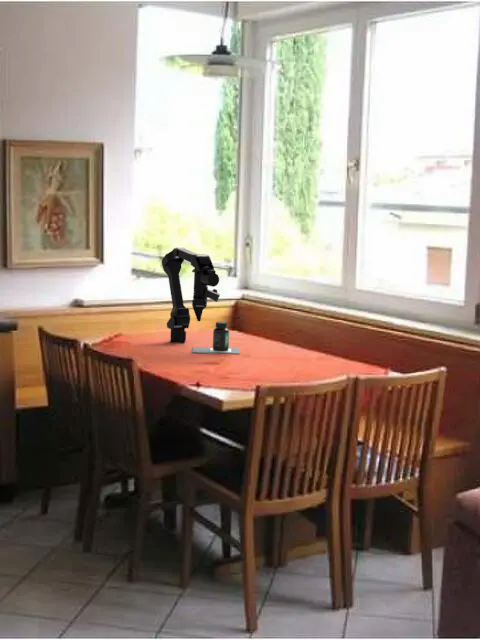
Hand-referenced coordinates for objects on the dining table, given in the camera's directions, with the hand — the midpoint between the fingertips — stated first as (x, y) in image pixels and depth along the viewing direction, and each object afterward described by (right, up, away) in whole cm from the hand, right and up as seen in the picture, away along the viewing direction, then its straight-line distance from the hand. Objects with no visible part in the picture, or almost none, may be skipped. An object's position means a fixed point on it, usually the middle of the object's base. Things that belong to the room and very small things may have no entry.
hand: (199, 319), depth 411 cm
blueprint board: (+7, -14, -3) cm, 16 cm away
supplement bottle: (+9, -13, -3) cm, 17 cm away
